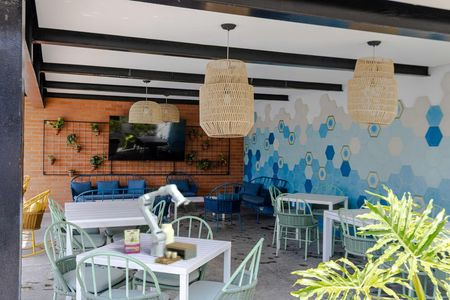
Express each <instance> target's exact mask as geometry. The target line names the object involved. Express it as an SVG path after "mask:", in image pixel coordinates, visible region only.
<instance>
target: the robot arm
mask: <svg viewBox="0 0 450 300" xmlns="http://www.w3.org/2000/svg"><path fill="white" fill-rule="evenodd" d="M166 195H169V196H171V197H172V198H173V199H174V201H176V203H175V206H176V208H177V210H179V211H181V212H183V213H184V214H186V215H188V214H189V212H190V211H191V212H192V213H195V212H196V211H197V210H196V208H195V205H194V202H193V200H188V198H186V197H184V195H183V194H182V193H181V191H179V190H178V187H177V185H176V184H173V183H172V184H166V185H165V186H163V185H162V186H160V188H158V190H155V191H152V192H151V191H150V192H148V193H145V194H143V195H141V196H139V197H138V199H137V205H138V207H139V210H140V213H141V215H142V217H143V218H144V220H145V221H146V224H147V225H148V227H149V229H150V231H151V234H150V237H151V241H152V243H151V245H150V255H149V256H151V257H156V258H159V257H162V256H165V240H166V239H167V235H166V233H165V232H164V231H163V230H162V229H161V228H160V227H159V226H158V224H157V221H156V220H155V218H154V215H152V213H151V211H150V208H151V206H152V205H153V201H154V200H155V199H154V198H155V197H157V196H158V197H159V196H161V197H163V196H166ZM189 210H190V211H189Z"/></svg>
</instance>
